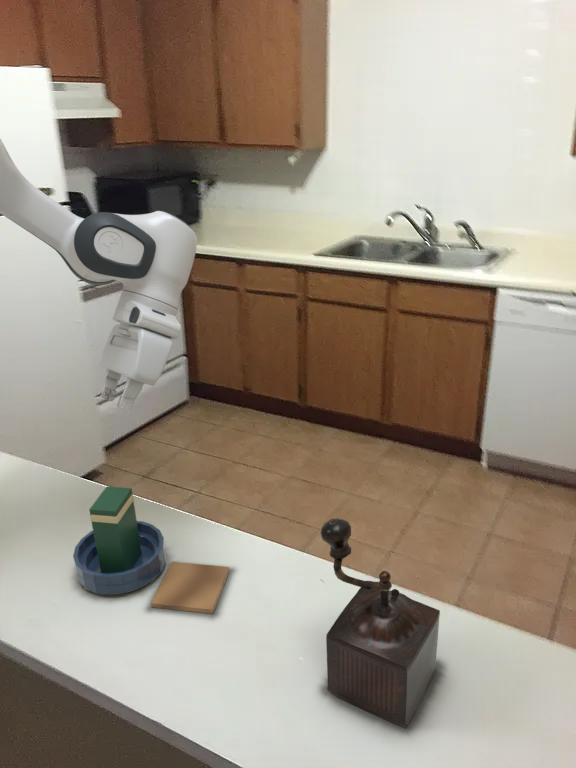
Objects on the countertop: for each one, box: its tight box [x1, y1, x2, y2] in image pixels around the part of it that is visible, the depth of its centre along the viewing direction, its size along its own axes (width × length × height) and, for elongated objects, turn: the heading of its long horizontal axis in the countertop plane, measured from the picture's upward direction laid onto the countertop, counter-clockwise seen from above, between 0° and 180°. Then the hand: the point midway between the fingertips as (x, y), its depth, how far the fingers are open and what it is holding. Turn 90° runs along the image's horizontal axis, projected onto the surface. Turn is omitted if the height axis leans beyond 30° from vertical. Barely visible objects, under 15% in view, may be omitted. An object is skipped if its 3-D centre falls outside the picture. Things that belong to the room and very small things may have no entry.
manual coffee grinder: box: [320, 517, 441, 729], centre depth 79 cm, size 16×11×18 cm
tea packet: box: [88, 486, 141, 574], centre depth 99 cm, size 4×6×12 cm
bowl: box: [72, 520, 167, 596], centre depth 101 cm, size 13×13×4 cm
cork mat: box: [150, 561, 230, 615], centre depth 97 cm, size 9×9×1 cm
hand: (114, 404), depth 102 cm, fingers open, 8 cm apart
